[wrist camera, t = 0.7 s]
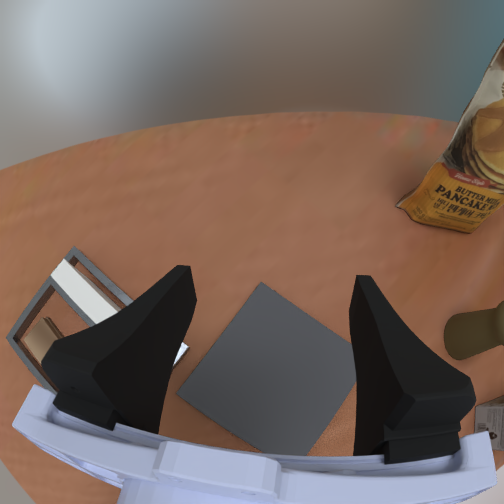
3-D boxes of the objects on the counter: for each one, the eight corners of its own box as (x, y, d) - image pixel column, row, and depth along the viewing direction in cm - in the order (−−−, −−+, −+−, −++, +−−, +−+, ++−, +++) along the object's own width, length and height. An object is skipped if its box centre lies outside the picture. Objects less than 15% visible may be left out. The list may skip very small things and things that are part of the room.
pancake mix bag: (381, 177, 39) (491, 10, 13) (477, 202, 40) (586, 96, 14) (388, 220, 36) (531, 50, 10) (486, 240, 37) (612, 139, 12)
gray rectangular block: (139, 350, 28) (117, 344, 22) (80, 294, 30) (50, 275, 23) (151, 335, 29) (132, 325, 23) (91, 281, 30) (63, 258, 24)
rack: (112, 446, 24) (107, 449, 23) (12, 339, 26) (5, 338, 25) (190, 347, 29) (188, 346, 27) (79, 250, 31) (74, 245, 30)
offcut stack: (99, 424, 25) (90, 428, 23) (32, 342, 27) (21, 339, 25) (121, 400, 26) (114, 402, 24) (51, 318, 29) (41, 314, 26)
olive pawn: (459, 369, 30) (524, 359, 20) (436, 336, 31) (500, 318, 21) (480, 336, 32) (540, 318, 22) (458, 304, 33) (518, 278, 23)
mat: (293, 468, 25) (294, 469, 25) (176, 393, 27) (175, 393, 26) (367, 357, 30) (370, 356, 29) (260, 283, 32) (261, 281, 31)
